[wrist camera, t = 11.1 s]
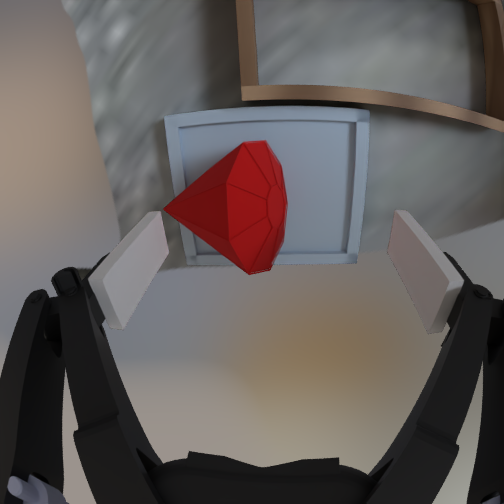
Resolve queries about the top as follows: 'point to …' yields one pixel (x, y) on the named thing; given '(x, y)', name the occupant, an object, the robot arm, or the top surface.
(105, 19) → the top surface
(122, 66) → the top surface
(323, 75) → the top surface
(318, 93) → the frame
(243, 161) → the gemstone
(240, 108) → the tray
